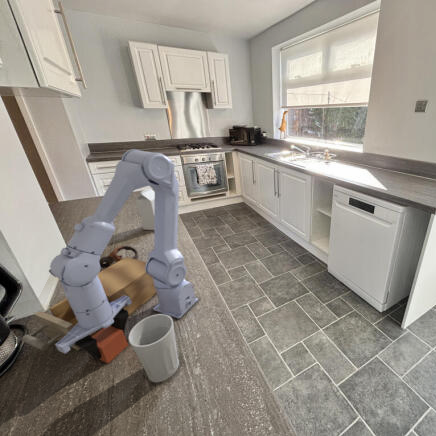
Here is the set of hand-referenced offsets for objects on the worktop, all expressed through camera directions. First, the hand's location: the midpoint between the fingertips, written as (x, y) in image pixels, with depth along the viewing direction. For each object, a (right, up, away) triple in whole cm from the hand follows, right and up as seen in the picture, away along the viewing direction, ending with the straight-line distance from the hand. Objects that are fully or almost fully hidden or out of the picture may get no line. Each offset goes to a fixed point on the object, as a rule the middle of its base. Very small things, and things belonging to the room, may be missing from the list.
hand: (109, 346), depth 56 cm
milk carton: (-24, +26, +60) cm, 70 cm away
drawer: (-11, +2, +5) cm, 12 cm away
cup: (+15, -3, -3) cm, 15 cm away
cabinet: (-7, +6, +16) cm, 18 cm away
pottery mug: (-19, +13, +31) cm, 38 cm away
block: (0, -1, +1) cm, 1 cm away
